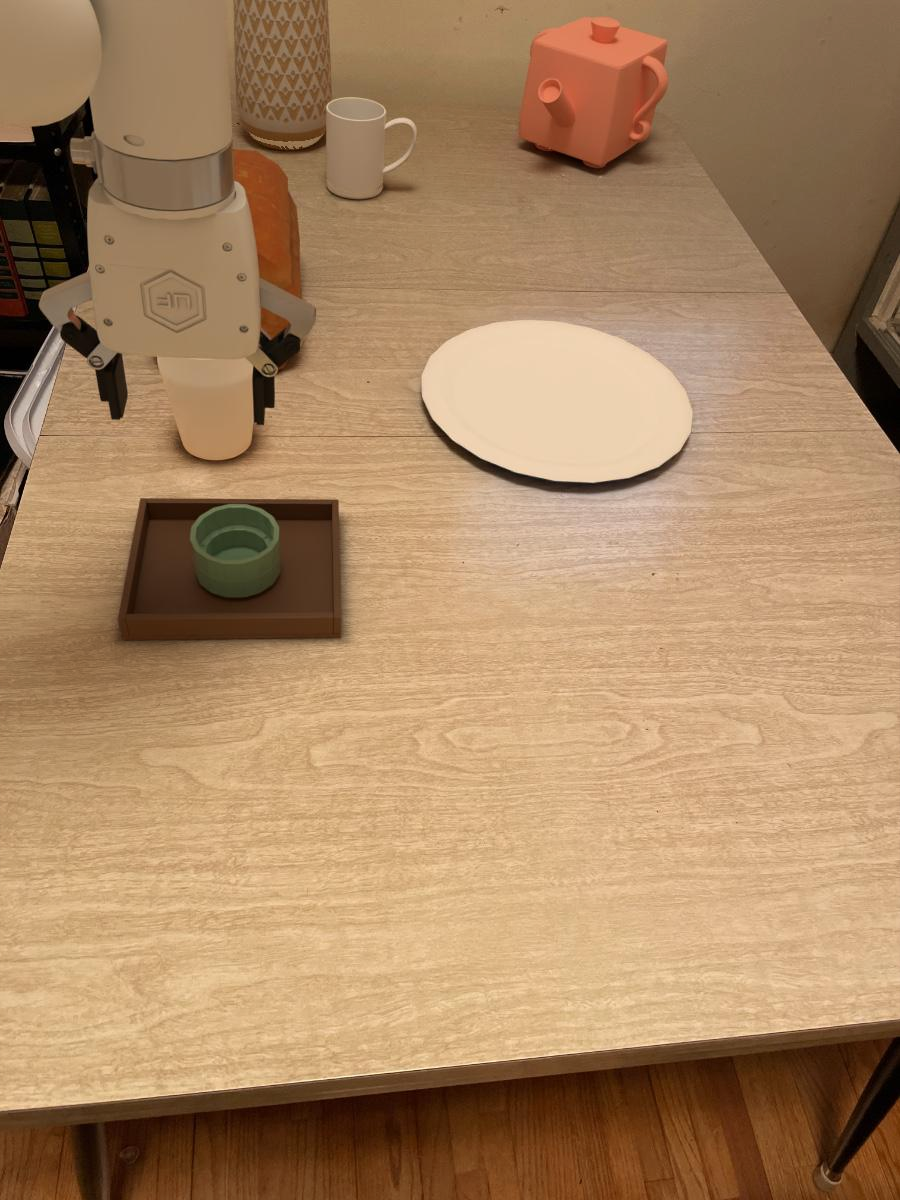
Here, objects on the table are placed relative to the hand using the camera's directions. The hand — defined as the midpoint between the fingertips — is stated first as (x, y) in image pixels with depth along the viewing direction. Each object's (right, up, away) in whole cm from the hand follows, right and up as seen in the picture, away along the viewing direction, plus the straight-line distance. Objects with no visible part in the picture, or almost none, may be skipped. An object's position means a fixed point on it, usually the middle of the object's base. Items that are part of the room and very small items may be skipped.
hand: (190, 410), depth 68 cm
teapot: (+37, +56, +82) cm, 106 cm away
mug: (+7, +44, +67) cm, 80 cm away
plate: (+30, +7, +36) cm, 47 cm away
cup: (-5, +2, +26) cm, 27 cm away
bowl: (0, -11, +14) cm, 18 cm away
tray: (0, -11, +14) cm, 18 cm away
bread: (-7, +20, +43) cm, 48 cm away
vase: (-6, +56, +76) cm, 94 cm away
